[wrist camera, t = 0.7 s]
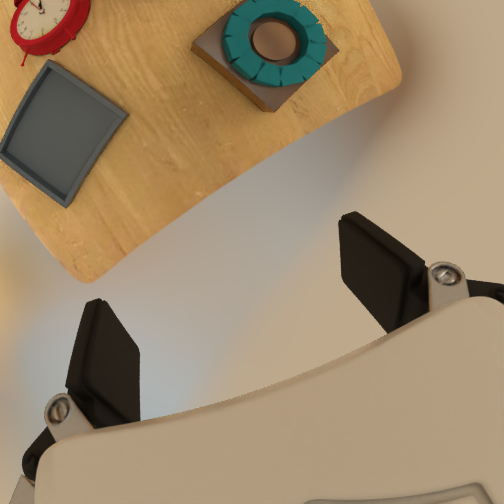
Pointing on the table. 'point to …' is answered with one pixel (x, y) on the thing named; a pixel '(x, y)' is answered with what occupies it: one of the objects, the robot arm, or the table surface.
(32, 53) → the alarm clock
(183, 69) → the table surface
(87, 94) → the tray
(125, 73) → the table surface
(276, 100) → the platform
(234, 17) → the ring
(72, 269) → the table surface
